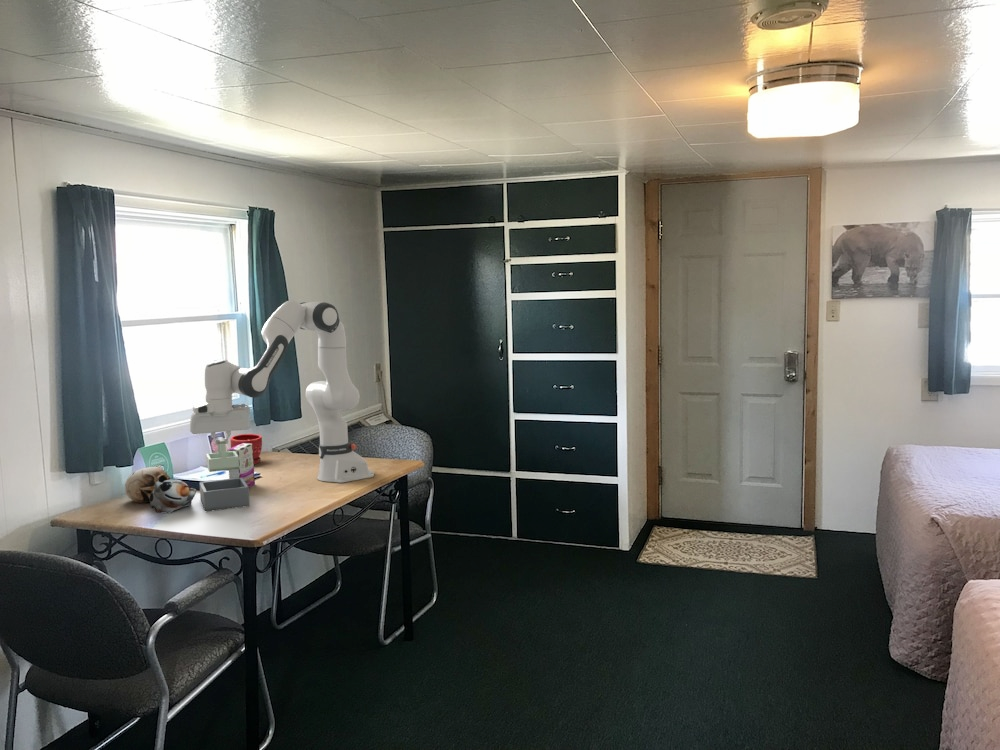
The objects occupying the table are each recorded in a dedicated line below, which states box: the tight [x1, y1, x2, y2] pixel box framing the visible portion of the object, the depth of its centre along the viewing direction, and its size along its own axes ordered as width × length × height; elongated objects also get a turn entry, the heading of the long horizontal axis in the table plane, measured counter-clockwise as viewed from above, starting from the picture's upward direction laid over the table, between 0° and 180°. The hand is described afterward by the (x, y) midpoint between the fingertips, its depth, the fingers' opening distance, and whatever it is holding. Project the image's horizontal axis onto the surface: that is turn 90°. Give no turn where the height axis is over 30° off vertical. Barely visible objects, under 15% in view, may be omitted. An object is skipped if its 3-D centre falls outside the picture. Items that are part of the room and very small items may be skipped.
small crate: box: [205, 436, 239, 473], centre depth 295 cm, size 10×10×10 cm
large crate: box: [199, 478, 250, 512], centre depth 297 cm, size 15×15×7 cm
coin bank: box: [124, 466, 172, 504], centre depth 302 cm, size 16×17×13 cm
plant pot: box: [229, 433, 263, 465], centre depth 358 cm, size 13×13×12 cm
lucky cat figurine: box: [149, 478, 197, 514], centre depth 290 cm, size 15×12×14 cm
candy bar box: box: [226, 443, 256, 488], centre depth 318 cm, size 11×5×16 cm, turn 168°
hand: (221, 443), depth 294 cm, fingers closed on small crate
